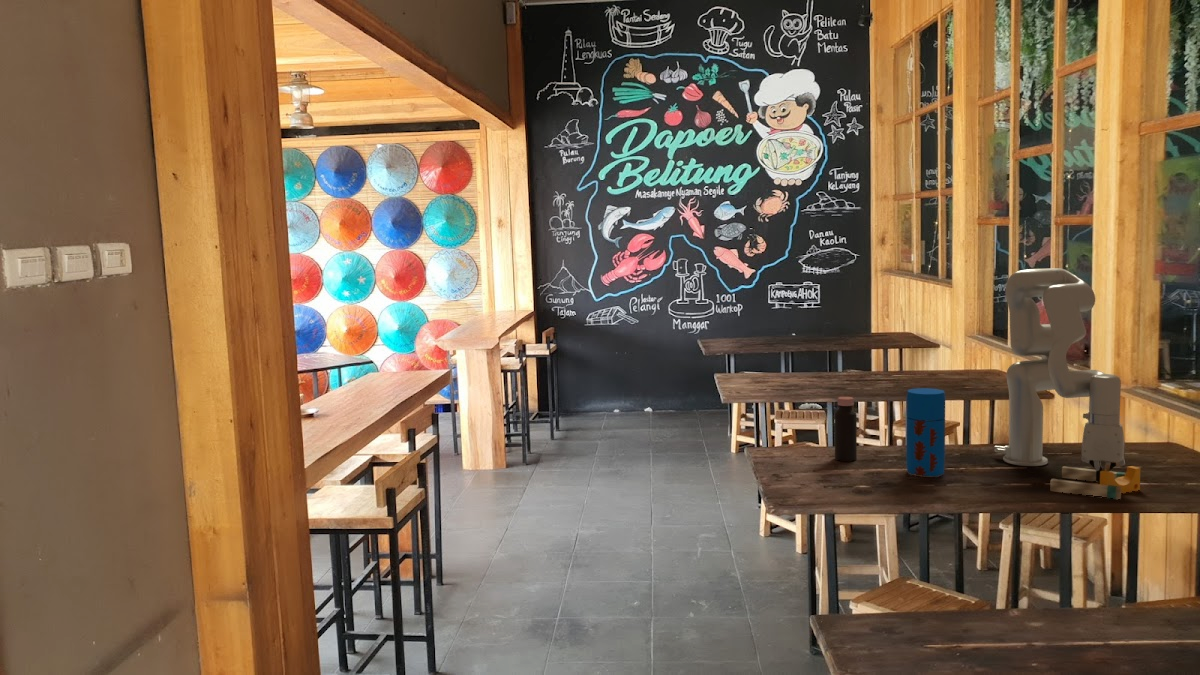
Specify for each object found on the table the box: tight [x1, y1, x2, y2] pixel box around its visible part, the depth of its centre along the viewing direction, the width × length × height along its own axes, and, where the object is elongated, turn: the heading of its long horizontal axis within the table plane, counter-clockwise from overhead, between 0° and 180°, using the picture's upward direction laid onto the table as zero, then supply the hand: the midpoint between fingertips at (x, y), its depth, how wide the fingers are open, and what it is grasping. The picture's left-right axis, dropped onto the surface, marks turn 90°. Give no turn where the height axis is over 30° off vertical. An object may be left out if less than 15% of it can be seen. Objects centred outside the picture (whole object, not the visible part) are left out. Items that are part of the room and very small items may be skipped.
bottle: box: [834, 396, 858, 462], centre depth 302 cm, size 7×7×20 cm
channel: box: [1049, 465, 1126, 500], centre depth 263 cm, size 17×18×3 cm
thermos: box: [906, 387, 946, 476], centre depth 282 cm, size 11×11×25 cm
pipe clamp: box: [1100, 465, 1142, 494], centre depth 258 cm, size 12×4×6 cm, turn 112°
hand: (1102, 484), depth 261 cm, fingers closed
